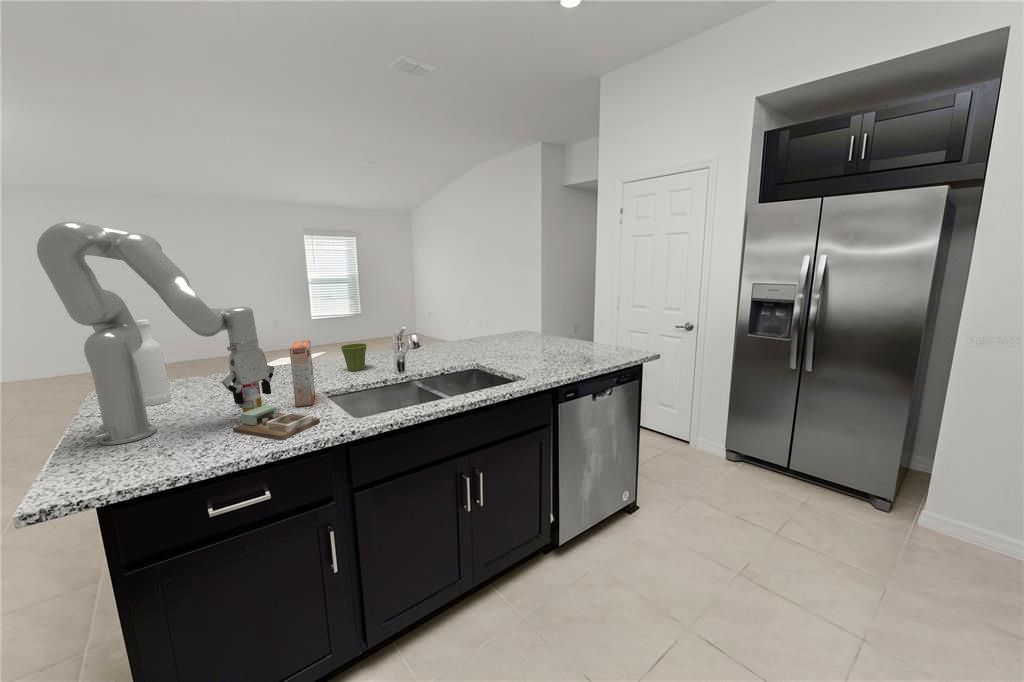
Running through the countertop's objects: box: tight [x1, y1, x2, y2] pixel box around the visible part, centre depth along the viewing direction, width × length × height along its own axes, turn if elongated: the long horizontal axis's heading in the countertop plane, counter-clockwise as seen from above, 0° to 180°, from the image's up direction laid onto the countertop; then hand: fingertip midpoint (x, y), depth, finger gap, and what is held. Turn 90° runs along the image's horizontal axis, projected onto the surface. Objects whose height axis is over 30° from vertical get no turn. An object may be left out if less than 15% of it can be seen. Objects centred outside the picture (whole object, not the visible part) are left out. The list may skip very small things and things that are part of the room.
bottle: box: [133, 319, 171, 407], centre depth 151 cm, size 8×8×30 cm
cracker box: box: [289, 339, 316, 408], centre depth 151 cm, size 14×6×21 cm, turn 22°
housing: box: [240, 404, 278, 425], centre depth 130 cm, size 8×5×3 cm, turn 160°
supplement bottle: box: [241, 386, 263, 413], centre depth 136 cm, size 5×5×10 cm
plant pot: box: [339, 342, 368, 372], centre depth 195 cm, size 12×12×11 cm
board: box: [232, 412, 321, 441], centre depth 128 cm, size 14×19×3 cm
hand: (253, 398), depth 136 cm, fingers open, 9 cm apart
